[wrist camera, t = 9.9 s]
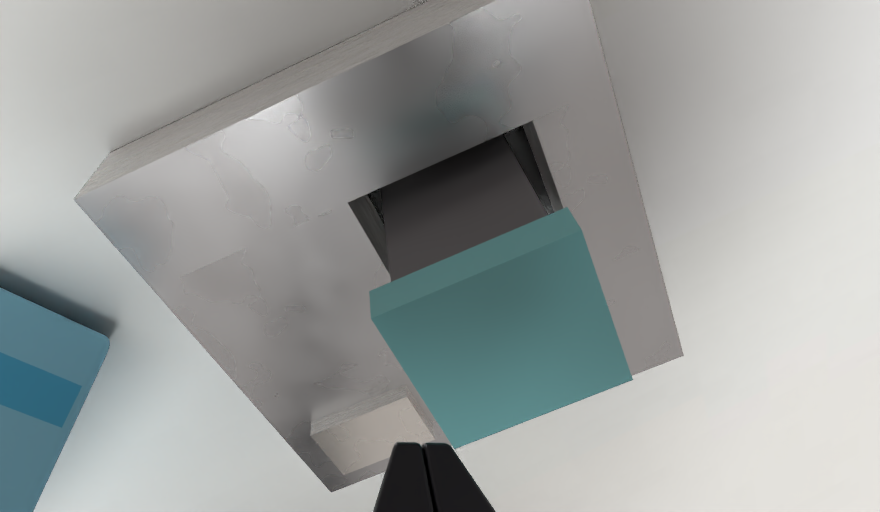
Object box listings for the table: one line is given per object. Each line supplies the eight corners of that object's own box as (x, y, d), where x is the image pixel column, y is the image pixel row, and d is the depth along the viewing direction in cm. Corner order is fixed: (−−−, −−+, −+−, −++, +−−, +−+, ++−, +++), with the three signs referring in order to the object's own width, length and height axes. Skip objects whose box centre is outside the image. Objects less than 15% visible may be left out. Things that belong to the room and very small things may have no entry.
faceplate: (649, 304, 25) (691, 367, 22) (332, 431, 26) (331, 506, 23) (545, -55, 17) (587, -35, 14) (109, 153, 19) (64, 210, 16)
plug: (545, 220, 22) (632, 379, 16) (421, 273, 23) (454, 448, 16) (500, 100, 20) (581, 230, 13) (361, 163, 20) (371, 318, 13)
